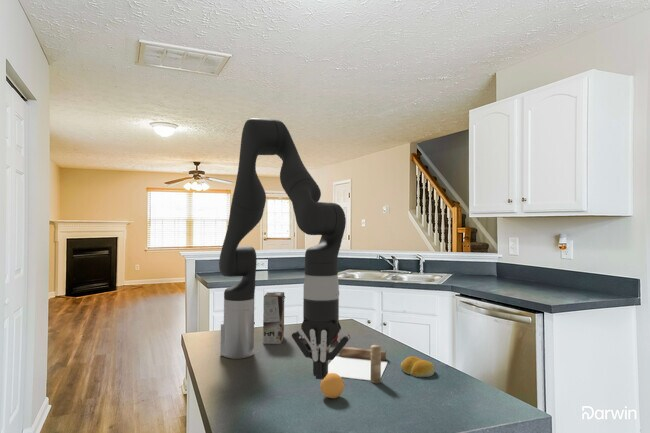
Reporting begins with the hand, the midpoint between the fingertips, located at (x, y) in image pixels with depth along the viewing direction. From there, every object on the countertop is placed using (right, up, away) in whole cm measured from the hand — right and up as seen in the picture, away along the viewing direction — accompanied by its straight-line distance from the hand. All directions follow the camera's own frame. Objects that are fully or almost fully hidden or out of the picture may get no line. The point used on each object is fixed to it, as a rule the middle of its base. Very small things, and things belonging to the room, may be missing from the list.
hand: (320, 378), depth 88 cm
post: (+14, -8, +19) cm, 25 cm away
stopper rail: (+12, -9, +39) cm, 41 cm away
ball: (+3, -5, +9) cm, 11 cm away
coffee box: (-17, -9, +57) cm, 60 cm away
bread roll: (+27, -9, +27) cm, 39 cm away
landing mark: (+9, -9, +29) cm, 32 cm away
